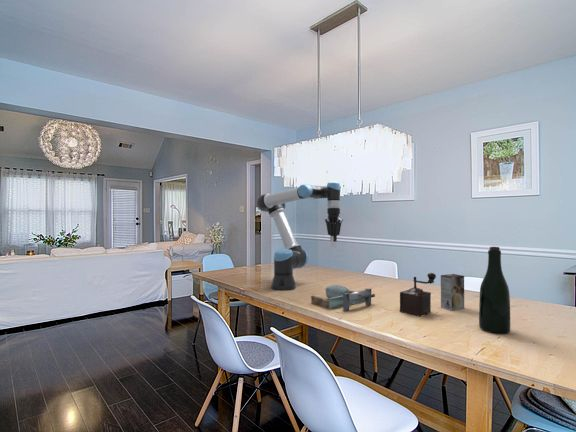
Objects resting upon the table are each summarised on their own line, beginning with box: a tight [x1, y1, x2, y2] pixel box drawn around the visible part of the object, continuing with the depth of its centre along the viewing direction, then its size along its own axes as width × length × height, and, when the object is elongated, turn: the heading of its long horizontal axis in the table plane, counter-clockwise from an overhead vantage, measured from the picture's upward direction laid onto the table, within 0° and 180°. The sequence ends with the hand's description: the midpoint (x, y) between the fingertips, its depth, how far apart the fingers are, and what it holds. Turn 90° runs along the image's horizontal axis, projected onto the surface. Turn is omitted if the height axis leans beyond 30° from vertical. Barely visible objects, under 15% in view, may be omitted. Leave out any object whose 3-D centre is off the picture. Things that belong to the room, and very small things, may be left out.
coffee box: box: [440, 273, 465, 311], centre depth 158 cm, size 9×6×16 cm
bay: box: [310, 289, 365, 310], centre depth 169 cm, size 14×26×5 cm, turn 126°
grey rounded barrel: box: [325, 284, 350, 300], centre depth 171 cm, size 14×10×10 cm
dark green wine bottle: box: [478, 246, 511, 335], centre depth 127 cm, size 10×10×33 cm
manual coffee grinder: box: [399, 272, 437, 317], centre depth 153 cm, size 16×11×18 cm
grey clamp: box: [342, 288, 376, 312], centre depth 159 cm, size 4×21×8 cm, turn 126°
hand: (333, 246), depth 194 cm, fingers closed
